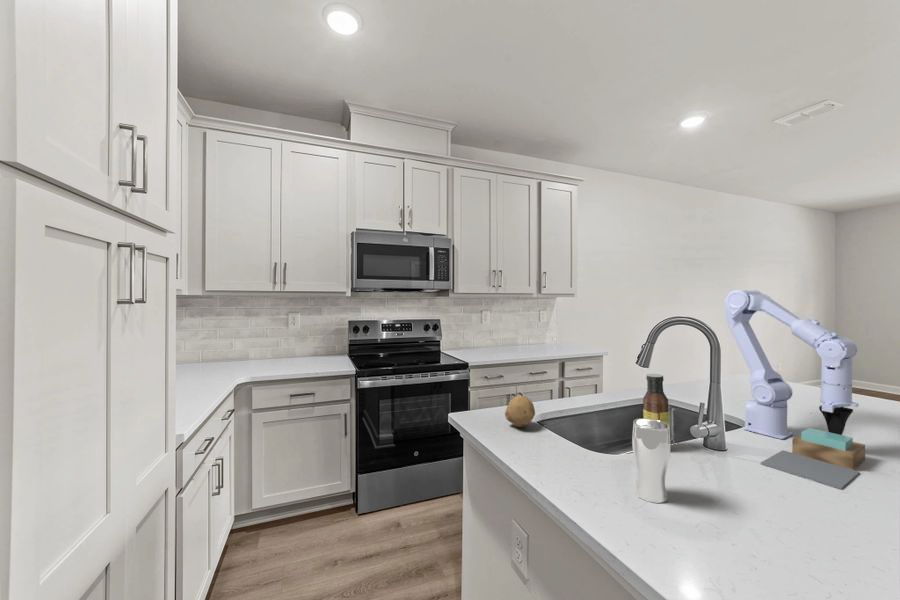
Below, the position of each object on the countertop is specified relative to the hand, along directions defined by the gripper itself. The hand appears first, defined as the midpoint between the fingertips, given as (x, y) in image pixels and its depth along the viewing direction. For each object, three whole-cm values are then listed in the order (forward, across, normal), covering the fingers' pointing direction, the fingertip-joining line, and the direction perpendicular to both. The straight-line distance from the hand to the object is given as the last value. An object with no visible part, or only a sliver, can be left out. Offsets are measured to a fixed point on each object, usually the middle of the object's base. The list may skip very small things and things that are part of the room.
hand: (835, 434), depth 99 cm
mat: (+5, -19, 0) cm, 19 cm away
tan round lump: (+5, -59, +57) cm, 82 cm away
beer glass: (+5, -63, +14) cm, 64 cm away
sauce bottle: (+5, -38, +26) cm, 46 cm away
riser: (+5, -6, 0) cm, 8 cm away
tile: (+1, -7, 0) cm, 7 cm away
